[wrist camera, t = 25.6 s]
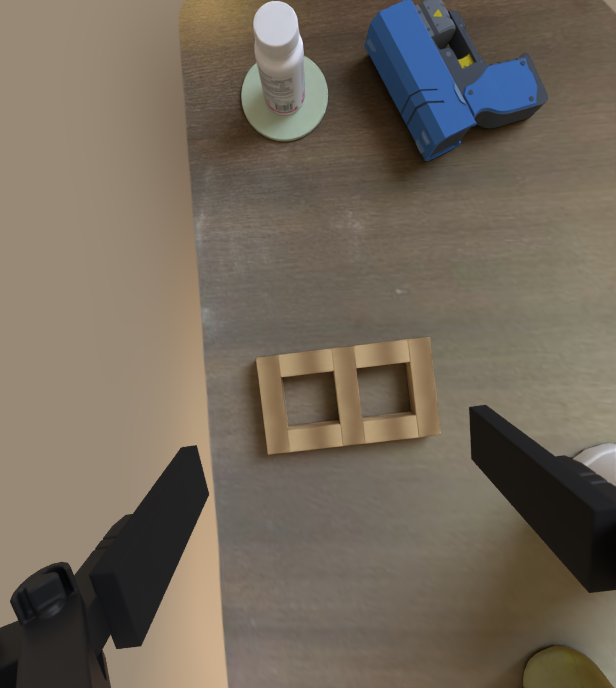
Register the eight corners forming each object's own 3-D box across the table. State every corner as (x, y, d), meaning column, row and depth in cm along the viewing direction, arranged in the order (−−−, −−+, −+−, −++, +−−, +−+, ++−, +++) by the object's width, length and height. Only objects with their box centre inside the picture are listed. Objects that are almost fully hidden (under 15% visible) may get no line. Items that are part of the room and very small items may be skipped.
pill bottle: (281, 66, 36) (272, -16, 28) (313, 92, 36) (313, 18, 28) (255, 99, 36) (238, 27, 28) (287, 125, 36) (279, 61, 28)
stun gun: (493, -43, 33) (368, 14, 32) (563, 90, 33) (441, 151, 32) (470, 1, 37) (359, 53, 36) (532, 119, 37) (423, 174, 36)
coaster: (247, 147, 37) (246, 145, 37) (236, 60, 37) (236, 57, 36) (332, 135, 37) (332, 133, 36) (322, 48, 37) (322, 45, 36)
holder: (270, 448, 38) (267, 454, 36) (258, 356, 37) (255, 358, 35) (434, 429, 37) (441, 435, 35) (423, 336, 37) (429, 336, 35)
